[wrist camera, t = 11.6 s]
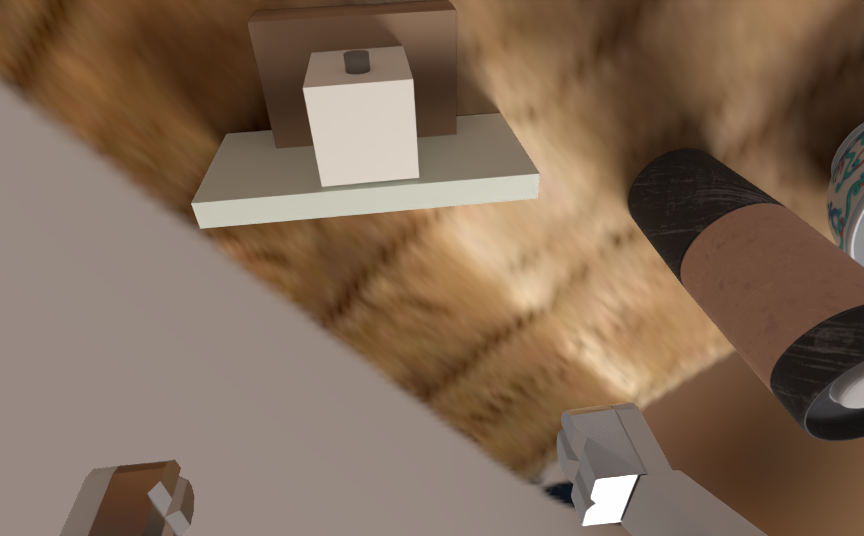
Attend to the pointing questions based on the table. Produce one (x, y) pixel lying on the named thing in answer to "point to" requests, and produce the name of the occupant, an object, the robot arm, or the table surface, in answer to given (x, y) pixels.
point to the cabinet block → (362, 115)
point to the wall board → (306, 198)
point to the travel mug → (763, 285)
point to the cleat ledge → (347, 30)
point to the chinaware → (848, 195)
